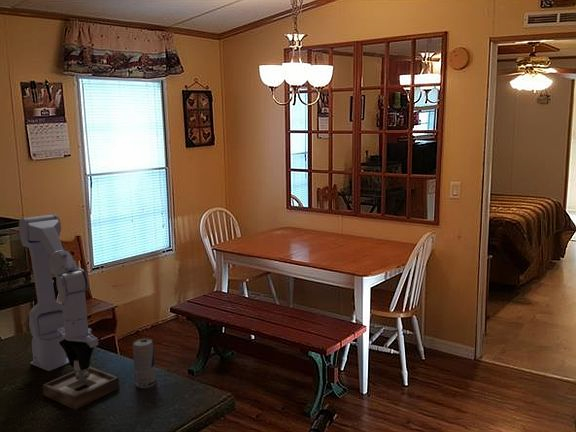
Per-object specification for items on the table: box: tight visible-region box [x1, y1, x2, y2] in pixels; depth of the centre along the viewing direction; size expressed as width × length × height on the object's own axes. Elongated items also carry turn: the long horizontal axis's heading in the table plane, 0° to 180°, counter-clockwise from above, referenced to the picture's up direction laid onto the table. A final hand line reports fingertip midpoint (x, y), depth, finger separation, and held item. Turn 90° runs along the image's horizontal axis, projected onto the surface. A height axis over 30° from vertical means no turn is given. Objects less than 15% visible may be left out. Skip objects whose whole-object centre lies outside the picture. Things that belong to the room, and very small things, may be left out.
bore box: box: [42, 365, 120, 411], centre depth 149 cm, size 13×13×3 cm
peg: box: [73, 357, 90, 380], centre depth 148 cm, size 4×4×5 cm
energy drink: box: [132, 337, 157, 389], centre depth 151 cm, size 5×5×12 cm
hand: (79, 366), depth 148 cm, fingers closed on peg, 4 cm apart
